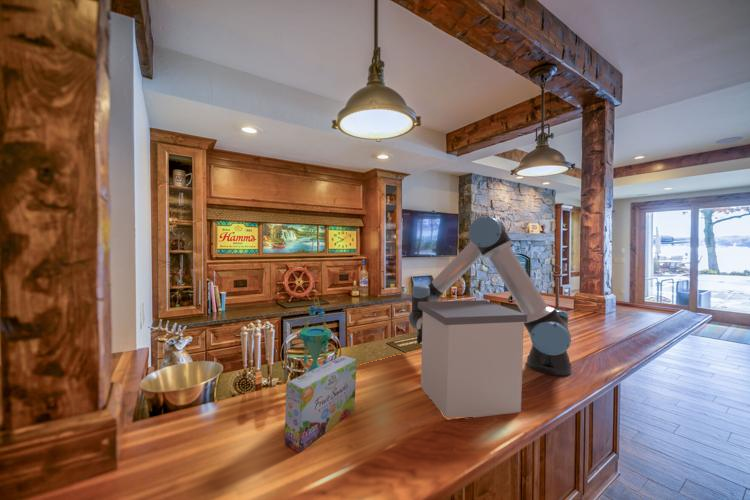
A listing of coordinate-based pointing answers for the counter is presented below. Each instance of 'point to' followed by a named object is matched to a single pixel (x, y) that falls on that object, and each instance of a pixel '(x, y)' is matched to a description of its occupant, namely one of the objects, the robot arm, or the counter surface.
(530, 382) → the counter surface
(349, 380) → the snack box
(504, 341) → the under-counter cabinet
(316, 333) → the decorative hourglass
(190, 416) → the counter surface
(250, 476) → the counter surface
